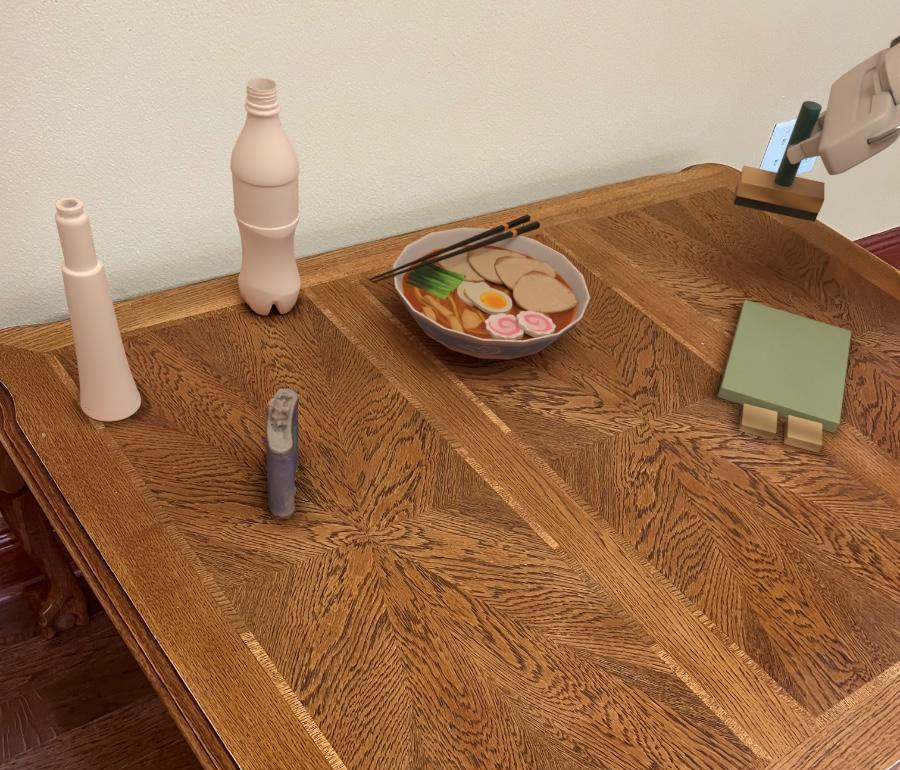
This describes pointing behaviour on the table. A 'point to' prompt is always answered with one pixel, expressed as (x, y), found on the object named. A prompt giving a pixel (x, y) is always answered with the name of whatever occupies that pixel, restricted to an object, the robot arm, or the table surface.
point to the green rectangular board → (787, 365)
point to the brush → (784, 179)
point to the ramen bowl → (490, 290)
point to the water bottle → (266, 203)
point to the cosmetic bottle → (93, 321)
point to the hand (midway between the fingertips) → (790, 149)
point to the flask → (282, 452)
